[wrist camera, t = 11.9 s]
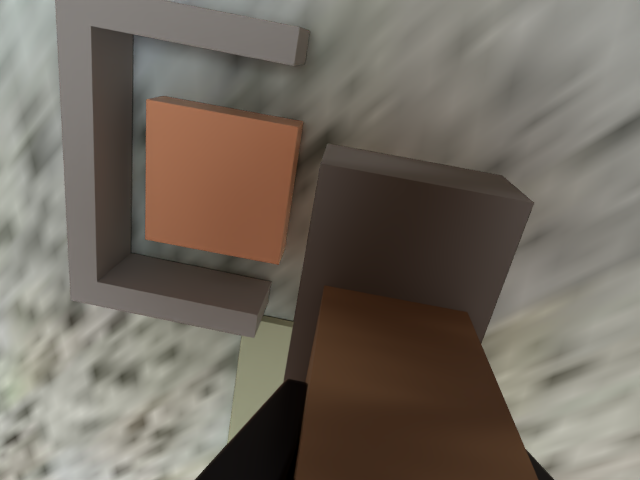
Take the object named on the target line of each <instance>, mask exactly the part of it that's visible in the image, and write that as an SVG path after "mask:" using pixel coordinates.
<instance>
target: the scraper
mask: <svg viewBox="0 0 640 480" xmlns="http://www.w3.org/2000/svg"><path fill="white" fill-rule="evenodd" d="M533 205H534V202H533V201H532V200H530V199H529V198H528V197H527V196H526V195H524V194H523V193H522V192H521V191H520V190H519V189H517V188H516V187H515V186H514V185H513V184H511V183H510V182H509V181H508V180H507V179H506V178H504V177H503V176H502V175H497V174H491V173H486V172H480V171H475V170H469V169H464V168H459V167H453V166H448V165H442V164H437V163H431V162H426V161H421V160H415V159H410V158H404V157H399V156H393V155H388V154H383V153H377V152H372V151H366V150H361V149H355V148H350V147H345V146H339V145H334V144H328V143H327V146H326V149H325V152H324V155H323V158H322V161H321V164H320V169H319V175H318V181H317V187H316V193H315V199H314V205H313V211H312V216H311V222H310V228H309V234H308V240H307V246H306V252H305V258H304V263H303V269H302V275H301V281H300V287H299V293H298V299H297V305H296V310H295V316H294V322H293V328H292V334H291V340H290V346H289V352H288V357H287V363H286V369H285V375H284V381H285V380H286V379H293V380H298V381H303V382H307V383H308V386H307V393H306V400H305V407H304V414H303V421H302V428H301V435H300V440H299V445H298V450H297V455H296V460H295V464H294V469H293V473H292V478H291V480H538V478H537V475H536V473H535V471H534V468H533V466H532V464H531V461H530V459H529V456H528V454H527V452H526V449H525V447H524V445H523V442H522V440H521V438H520V435H519V433H518V430H517V428H516V426H515V423H514V421H513V419H512V416H511V414H510V412H509V409H508V407H507V404H506V402H505V400H504V397H503V395H502V393H501V390H500V388H499V386H498V383H497V381H496V378H495V376H494V374H493V371H492V369H491V367H490V364H489V362H488V360H487V357H486V355H485V352H484V350H483V348H482V345H481V343H482V340H483V338H484V335H485V332H486V330H487V327H488V324H489V322H490V319H491V316H492V314H493V311H494V308H495V306H496V303H497V300H498V298H499V295H500V292H501V290H502V287H503V284H504V282H505V279H506V276H507V274H508V271H509V268H510V266H511V263H512V260H513V258H514V255H515V252H516V250H517V247H518V245H519V242H520V239H521V237H522V234H523V231H524V229H525V226H526V223H527V221H528V218H529V215H530V213H531V210H532V207H533ZM284 381H283V382H284Z"/></svg>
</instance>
